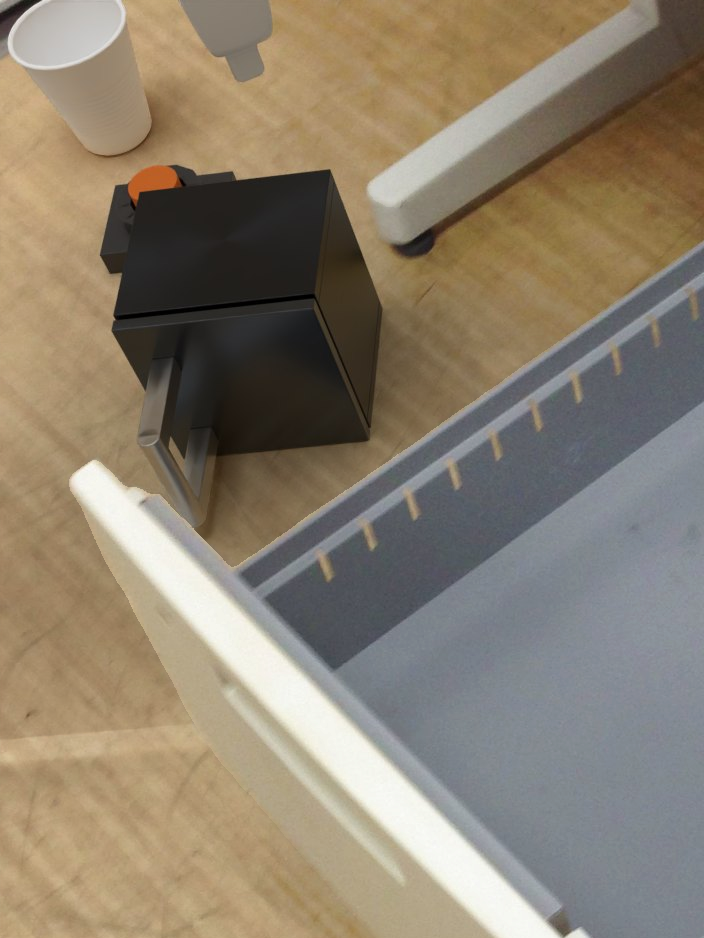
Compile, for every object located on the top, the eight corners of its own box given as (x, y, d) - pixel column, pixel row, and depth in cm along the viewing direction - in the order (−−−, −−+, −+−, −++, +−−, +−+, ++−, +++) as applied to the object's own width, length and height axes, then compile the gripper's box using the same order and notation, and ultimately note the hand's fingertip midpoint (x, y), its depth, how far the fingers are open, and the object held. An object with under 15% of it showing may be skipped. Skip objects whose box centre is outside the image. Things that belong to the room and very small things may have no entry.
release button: (132, 219, 142) (124, 203, 140) (140, 184, 144) (131, 168, 143) (181, 214, 141) (173, 197, 140) (188, 179, 144) (180, 162, 142)
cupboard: (371, 428, 131) (314, 293, 119) (186, 447, 132) (112, 315, 121) (383, 308, 137) (330, 168, 126) (206, 327, 139) (138, 191, 127)
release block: (110, 274, 144) (90, 238, 141) (125, 204, 148) (106, 168, 145) (230, 261, 143) (213, 224, 139) (241, 191, 147) (225, 153, 144)
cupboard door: (360, 527, 126) (301, 398, 114) (168, 545, 127) (91, 420, 116) (370, 430, 131) (314, 297, 119) (185, 449, 132) (112, 319, 121)
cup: (40, 163, 153) (-17, 58, 144) (101, 86, 157) (49, -20, 148) (136, 183, 150) (83, 76, 141) (195, 104, 154) (148, -4, 145)
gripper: (36, -267, 98) (130, -48, 109) (127, -75, 87) (222, 147, 98) (145, -307, 99) (227, -85, 110) (249, -122, 87) (329, 104, 99)
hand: (225, 26), depth 104 cm, fingers open, 8 cm apart
